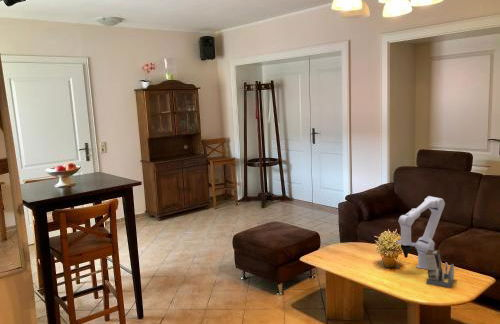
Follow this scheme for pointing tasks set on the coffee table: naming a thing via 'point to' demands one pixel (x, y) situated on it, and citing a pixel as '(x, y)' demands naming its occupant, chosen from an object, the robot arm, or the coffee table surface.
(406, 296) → the coffee table surface
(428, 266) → the coffee box
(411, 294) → the coffee table surface
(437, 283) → the slot rack
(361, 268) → the coffee table surface
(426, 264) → the robot arm
